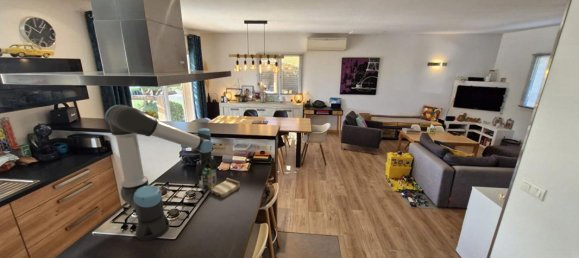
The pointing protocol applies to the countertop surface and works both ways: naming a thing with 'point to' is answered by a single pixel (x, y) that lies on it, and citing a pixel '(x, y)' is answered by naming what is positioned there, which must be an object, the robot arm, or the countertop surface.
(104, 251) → the countertop surface
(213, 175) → the chalk box
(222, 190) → the dock
